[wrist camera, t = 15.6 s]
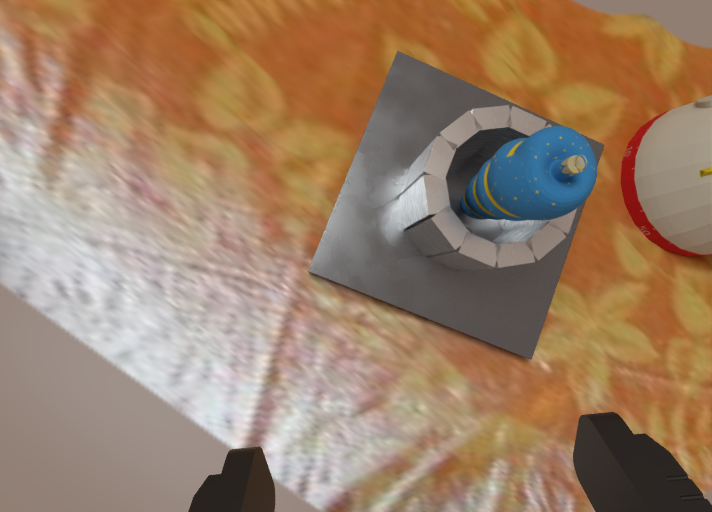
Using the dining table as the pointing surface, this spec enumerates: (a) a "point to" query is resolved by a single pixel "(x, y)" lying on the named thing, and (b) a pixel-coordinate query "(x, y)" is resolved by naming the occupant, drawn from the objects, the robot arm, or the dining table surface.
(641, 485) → the robot arm
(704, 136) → the kitchen timer
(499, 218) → the ornament
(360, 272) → the tube on square plate
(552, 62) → the dining table surface
